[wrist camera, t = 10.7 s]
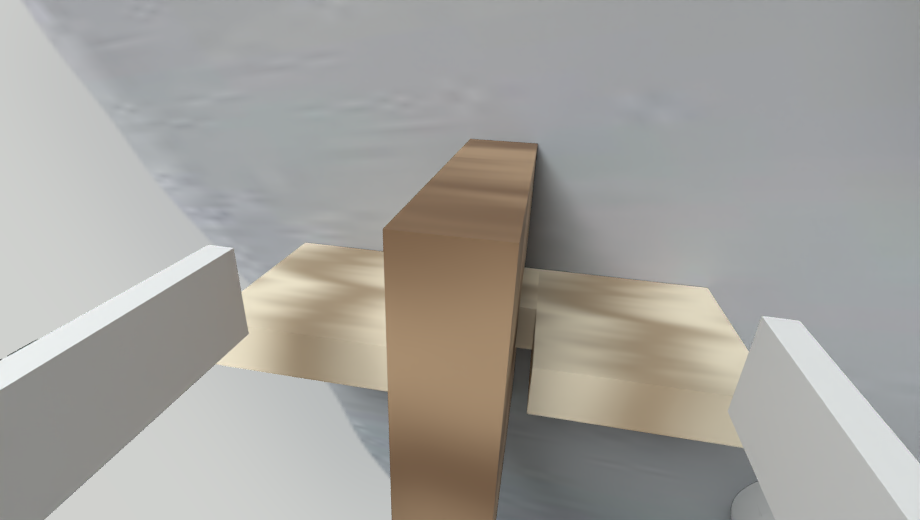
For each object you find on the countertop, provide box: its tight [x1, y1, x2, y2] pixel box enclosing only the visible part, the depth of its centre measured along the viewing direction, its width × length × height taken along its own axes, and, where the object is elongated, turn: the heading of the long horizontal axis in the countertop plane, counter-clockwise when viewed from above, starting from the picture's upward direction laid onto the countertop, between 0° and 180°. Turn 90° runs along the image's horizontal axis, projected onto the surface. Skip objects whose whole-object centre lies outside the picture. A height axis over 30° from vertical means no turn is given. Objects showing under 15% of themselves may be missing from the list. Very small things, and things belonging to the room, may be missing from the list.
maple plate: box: [216, 243, 749, 448], centre depth 20 cm, size 20×2×8 cm, turn 87°
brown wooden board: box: [383, 139, 538, 520], centre depth 18 cm, size 14×3×12 cm, turn 178°
